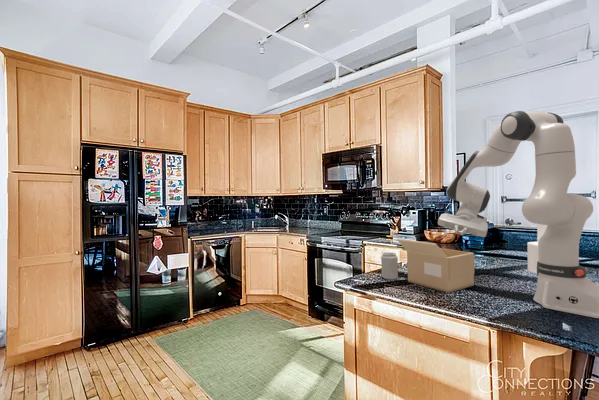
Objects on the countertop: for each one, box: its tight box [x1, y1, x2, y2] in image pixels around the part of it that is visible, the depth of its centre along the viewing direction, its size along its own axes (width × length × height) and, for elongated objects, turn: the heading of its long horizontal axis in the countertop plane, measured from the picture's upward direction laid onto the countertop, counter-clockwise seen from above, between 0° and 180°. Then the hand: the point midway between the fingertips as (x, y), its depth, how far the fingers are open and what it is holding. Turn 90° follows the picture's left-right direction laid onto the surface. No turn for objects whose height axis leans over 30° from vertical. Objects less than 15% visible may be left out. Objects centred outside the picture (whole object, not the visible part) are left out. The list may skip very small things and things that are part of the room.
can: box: [380, 252, 399, 281], centre depth 149 cm, size 8×8×12 cm
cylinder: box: [526, 224, 547, 275], centre depth 154 cm, size 17×17×28 cm
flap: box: [396, 238, 447, 257], centre depth 132 cm, size 19×9×1 cm
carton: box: [406, 247, 475, 293], centre depth 138 cm, size 21×19×14 cm
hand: (458, 233), depth 137 cm, fingers closed
